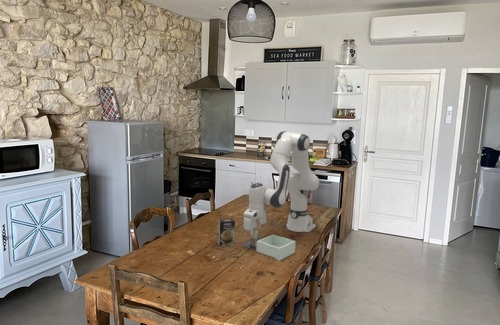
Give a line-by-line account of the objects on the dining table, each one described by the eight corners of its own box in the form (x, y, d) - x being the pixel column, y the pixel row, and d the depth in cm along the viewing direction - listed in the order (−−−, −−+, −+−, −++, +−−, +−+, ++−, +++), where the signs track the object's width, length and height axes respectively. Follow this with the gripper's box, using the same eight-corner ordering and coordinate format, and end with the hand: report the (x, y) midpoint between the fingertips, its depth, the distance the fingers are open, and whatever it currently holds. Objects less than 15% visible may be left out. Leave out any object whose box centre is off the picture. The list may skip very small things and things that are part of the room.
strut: (253, 242, 227) (254, 217, 225) (259, 244, 225) (260, 218, 222) (249, 245, 224) (250, 219, 221) (255, 246, 221) (256, 220, 219)
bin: (272, 245, 227) (273, 234, 226) (294, 252, 217) (295, 241, 216) (256, 252, 215) (256, 241, 214) (279, 260, 205) (279, 248, 204)
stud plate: (252, 241, 233) (253, 234, 232) (268, 246, 225) (268, 238, 225) (240, 246, 223) (240, 238, 223) (255, 251, 216) (256, 244, 215)
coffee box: (219, 248, 220) (220, 221, 217) (217, 244, 226) (217, 218, 223) (234, 247, 222) (235, 220, 220) (232, 243, 228) (232, 217, 226)
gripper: (260, 206, 231) (259, 227, 233) (241, 213, 214) (241, 236, 216) (269, 208, 228) (268, 230, 230) (251, 215, 211) (250, 239, 213)
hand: (255, 233), depth 223 cm, fingers closed on strut, 4 cm apart
